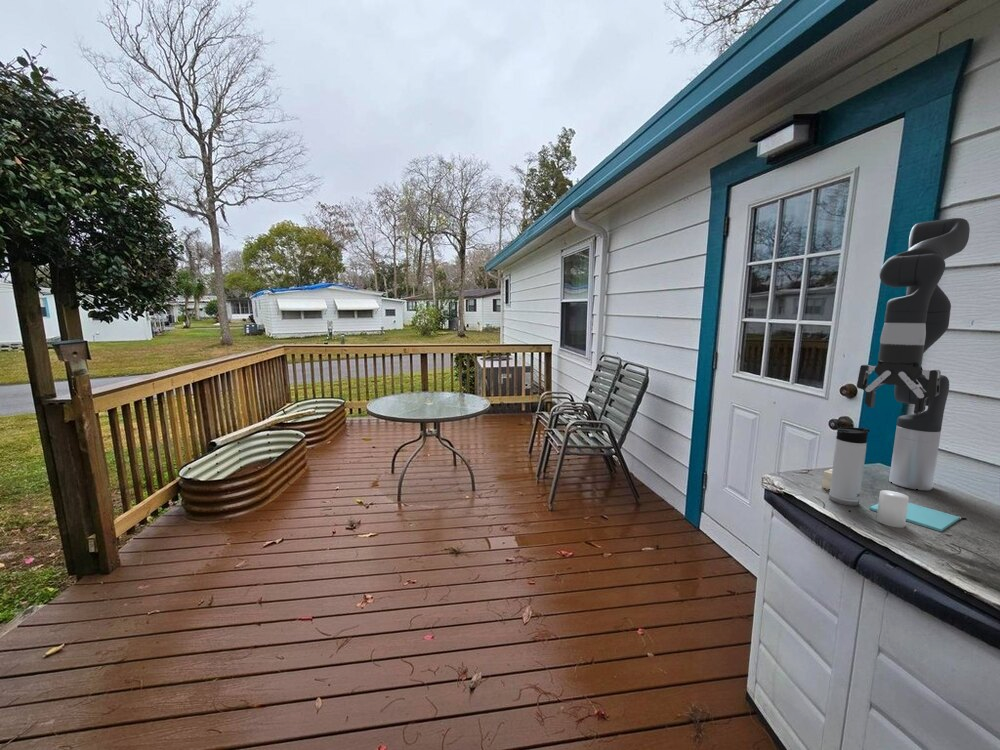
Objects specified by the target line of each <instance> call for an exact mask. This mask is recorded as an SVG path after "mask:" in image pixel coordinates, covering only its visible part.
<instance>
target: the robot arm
mask: <svg viewBox="0 0 1000 750" xmlns="http://www.w3.org/2000/svg"><path fill="white" fill-rule="evenodd" d="M970 229H971V228H970V223H969V221H968V220H967V219H965V218H961V217H954V218H952V217H951V218H944V219H939V220H938V219H936V220H931V221H923V222H918V223H916V224H914V225H913V226H912V228H911V230H910V232H909V238H908V248H907V250H906V251H902V252H900V253H898V254H895V255H892V256H890V257H889V258H887V259H886V260H885V262H884V263H883V264H882V266H881V268H880V270H879V279H880V281H881V283H882V284H883V285H885V286H886V287H890V288H906V291H905V292H906V293H905V296H899V297H894V298H890V299H889V300H888V301H887V303H886V308H885V314H884V320H883V321H884V322H883V323H884V324H883V327H882V330H881V333H880V334H881V335H880V338H879V343H880V344H879V350H878V359H877V364H876V365H870V364H861V366H860V367H859V371H858V372H859V373H858V378H857V383H856V388H857V389H861V390H862V391H865V397H864V404H865V405H866V407H867V408H871V409H872V408H874V407H875V403H876V396H877V392H876V390H877V389H879V388H880V387H881V386H883V385H884V384H885V385H887V386H893V385H894V392H893V393H894V399H895V400H896V402H898V403H901V404H909V405H914V409H913V413H912V414H904V415H900V416H898V417H897V420H896V429H895V433H894V434H895V435H894V443H893V451H892V457H891V464H890V471H889V479H888V480H889V482H890V483H891V482H892V484H893V485H896V486H899V487H902V488H907V489H911V490H916V489H918V490H917V491H932V490H933V486H934V481H935V475H936V474H935V473H936V467H937V461H938V455H939V454H938V453H939V447H940V440H941V434H942V433H941V432H942V427H943V426H942V425H943V420H944V415H945V408H946V403H947V399H948V395H949V390H950V379H949V378H948V377H947V376H946V375H943V374H941V370H940V369H933V370H932V369H930V370H929V369H927V370H926V369H923V367H922V364H923V356H924V354H925V353H926V351H927V350H929V348H930V347H932V346H933V345H934V344H935V343H936V342H937V341H938V340H940V338H941V337H942V336H944V334H945V333H946V331H947V330H948V328H949V324H950V317H951V310H952V309H951V308H952V305H951V303H952V302H951V301H950V299H949V298H948V295H946V293H945V292H944V290H942V289H941V287H940V286H939V285H938V284H939V282H940V280H941V279H942V277H943V275H944V274H945V273H944V272H945V270H946V260H947V259H948V258H950V257H952V256H954V255H956V254H959V253H960V252H962V251H963V250H965V248H966V246H967V245H968V242H969V239H970ZM873 371H874V372H875V373H876V375H877V376H878V377H877V378H876V379H874V380H873V381H872V382H871V383H870V384H869V385H868V382H869V377H870V375H871V374H872V373H874V372H873ZM926 408H927V409H926ZM931 489H932V490H931Z"/></svg>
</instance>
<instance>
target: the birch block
mask: <svg viewBox="0 0 1000 750" xmlns="http://www.w3.org/2000/svg"><path fill="white" fill-rule="evenodd" d="M831 476H832V468H830V469H827V470H824V471H823V477H822V483H821V488H822V489H824V488H826V489H825V490H828V489H830V485H831Z"/></svg>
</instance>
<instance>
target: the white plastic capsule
mask: <svg viewBox="0 0 1000 750" xmlns="http://www.w3.org/2000/svg"><path fill="white" fill-rule="evenodd" d="M878 496H879V497H878V502H877V504H878V511H877V512H876V521H877V522H878V523H880V524H883V525H885V526H889V527H893V528H898V529H899V528H900V529H901V528H902V529H903V528H905V526H906V522H907V521H906V515H907V508H908V503H909V499H910V497H909V495H907V494H904V493H902V492H897V491H893V490H888V489H887V490H886V489H882V490H880V491H879V495H878Z"/></svg>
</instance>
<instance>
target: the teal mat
mask: <svg viewBox="0 0 1000 750" xmlns="http://www.w3.org/2000/svg"><path fill="white" fill-rule="evenodd" d="M869 510H870V511H873V512H876V513H877V511H878V503H876V504H873V505H872V506H869ZM960 518H961V517H960V516H957V515H954V514H951V513H947V512H943V511H939V510H936V509H933V508H930V507H925V506H922V505H918V504H916V503H912V502H908V508H907V515H906V522H909V523H912V524H915V525H919V526H922V527H926V528H929V529H931V530H935V531H936V532H940V533H941V532H943V531H944V530H946V529H947V528H949V527H950V526H952V525H953V524H955V523H956V522H958V521H959V520H960Z"/></svg>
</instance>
